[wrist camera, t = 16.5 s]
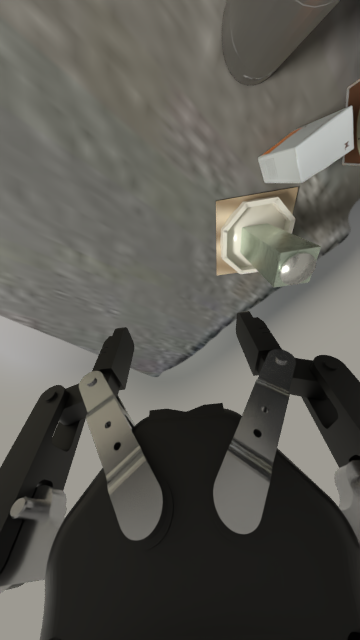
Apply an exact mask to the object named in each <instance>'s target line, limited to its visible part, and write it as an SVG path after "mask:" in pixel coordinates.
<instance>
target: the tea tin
mask: <svg viewBox="0 0 360 640" xmlns="http://www.w3.org/2000/svg"><path fill="white" fill-rule="evenodd" d="M320 248H321V246H319V245H316V244H314V243H312V242H309V241H307V240H305V239H302V238H300V237H298V236H295V235H293V234H291V233H289V232H286V231H284V230H282V229H279V228H277V227H275V226H272V225H270V224H268V223H266V224H260V225H254V226H248V227H243V228H242V233H241V249H240V253H241V254H242V255H243V256H244V257H245V258H246V259H247V260H248V261H249V262H250V263H251V264H252V265H253V266H254V268H255V269H256V270H257V271H258V272H259V273H260V274H261V275H262V276H263V277H264V278H265V279H266V280H267V281H268V282H269V283H270V284H271V285H272V286H273V287H280V286H286V285H296V284H300V283H307V282H309V281H310V277H311V275H312V273H313V271H314V269H315V266H316V260H317V257H318V254H319V251H320Z"/></svg>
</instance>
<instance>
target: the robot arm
mask: <svg viewBox="0 0 360 640" xmlns="http://www.w3.org/2000/svg"><path fill="white" fill-rule="evenodd" d="M339 1H340V0H227V1H226V5H225V10H224V15H223V23H222V46H223V54H224V58H225V61H226V65H227V67H228V69H229V71H230V73H231V74H232V76H233V77H234V78H235V79H236V80H237V81H238V82H240V83H241V84H244V85H256V84H259V83H261V82H263V81H264V80H266V79H267V78H268V77H269V76H270V75H271V74H272V73H273V72H275V71H276V70H277V68H278V67H279V66H280V65H281V64H282V63H283V62H284V60H286V59H287V57H288V56H289V55H290V54H291V53H292V52H293V51H294V50H295V49H296V48H297V47H298V46H299V44H300V43H301V42H302V41H303V40H304V39H305V38H306V37H307V36H308V35H309V34H310V33H311V32H312V30H313V29H314V28H315V27H316V26H317V25H318V24H319V23H320V22H321V21H322V20H323V19H324V17H325V16H326V15H327V14H328V13H329V12H330V11H331V10H332V9H333V8H334V7H335V6H336V5H337V3H338V2H339ZM236 334H237V337H238V340H239V342H240V345H241V347H242V349H243V352H244V354H245V357H246V359H247V361H248V364H249V366H250V369H251V371H252V373H253V375H254V376H255V375H259V377H258V380H257V381H256V382H255V385H254V387H253V390H252V392H251V395H250V398H249V400H248V402H247V405H246V407H245V410H244V412H243V415H242V416H241V415H240V414H238V413H236V412H234V411H231V410H229V409H224V408H223V404H222V403H218V404H209V405H203V406H200V407H198V408H195V409H193V410H190V411H187V412H183V411H177V410H171V409H160V410H151V411H150V415H149V417H147V418H145V419H143V420H142V421H140V422H139V423H138V424H136V425H135V424H134V422H133V421H132V419H131V418H130V416H129V414H128V413H127V411H126V409H125V407H124V405H123V403H122V402H121V400H120V398H119V396H118V392H119V390H124V389H125V387H126V383H127V379H128V374H129V370H130V365H131V361H132V357H133V352H134V343H133V340H132V338H131V335H130V333H129V331H128V329H127V328H126V327H125V328H117V329H115V331H114V333H113V336H109V338H108V339H107V340H106V341H105V342H104V344H103V347H102V349H101V351H100V354H99V356H98V359H97V361H96V363H95V366H94V368H93V370H92V372H90V373H88V374H87V375H85V376H84V377H83V378H82V380H81V381H80V383H79V384H77V385H74V386H71V387H69V388H67V389H65V388H64V387H62V386H61V385H56V386H53V387H51V388H49V389H48V390H46V391H45V392H44V393H43V394H42V395H41V396H40V398H39V400H38V402H37V403H36V405H35V407H34V408H33V410H32V412H31V414H30V416H29V417H28V419H27V421H26V423H25V425H24V426H23V428H22V430H21V432H20V433H19V435H18V437H17V439H16V441H15V442H14V445H13V446H12V448H11V450H10V451H9V453H8V455H7V457H6V459H5V460H4V462H3V464H2V466H1V468H0V593H1V592H3V591H5V590H8V589H12V588H15V587H19V586H21V585H23V584H24V583H26V582H32V581H39V580H45V604H44V605H45V606H44V616H43V624H42V630H41V637H40V640H360V382H359V381H358V380H357V378H356V377H355V376H354V375H353V374H352V373H351V371H350V370H349V369H348V368H347V367H346V366H345V364H344V363H342V362H341V361H340V360H338V359H336V358H334V357H332V356H327V355H319V356H317V357H315V358H314V360H313V361H312V360H305V359H298V358H294V356H293V355H292V354H290V353H289V352H287V351H284V350H282V349H281V348H280V346H279V344H278V343H277V341H276V339H275V338H274V337H273V335H272V333H270V330H269V329H268V328H267V326H266V324H265V323H264V322H263V321H262V320H260V319H259V318H258V317H257V318H253V317H252V315H251V313H250V312H249V311H247V312H239V313H237V322H236ZM290 394H292V395H297V396H301V397H302V398H303V401H304V402H305V404H306V406H307V408H308V410H309V412H310V414H311V416H312V417H313V419H314V421H315V423H316V425H317V427H318V429H319V430H320V432H321V434H322V436H323V438H324V440H325V442H326V443H327V445H328V447H329V449H330V451H331V453H332V455H333V457H334V459H335V460H336V462H337V464H338V466H339V469H338V470H337V471H336V472H335V483H336V486H337V489H338V492H339V495H340V504H339V507H338V506H337V505H336V504H335V502H334V501H333V500H332V499H331V498H330V497H329V496H328V495H327V494H326V493H325V492H323V491H322V490H321V489H320V488H319V487H318V486H317V485H316V484H315V483H314V482H313V481H312V480H311V479H310V478H308V476H306V475H305V474H304V473H303V472H302V471H301V470H300V469H299V468H298V467H297V466H296V465H295V464H293V462H292V461H290V460H289V459H288V458H287V457H286V456H285V455H284V454H283V453H282V452H281V451H280V450H278V448H277V446H278V441H279V437H280V433H281V429H282V425H283V421H284V416H285V412H286V408H287V404H288V400H289V395H290ZM85 419H86V420H87V423H88V426H89V429H90V431H91V434H92V437H93V440H94V443H95V446H96V449H97V452H98V455H99V458H100V460H101V463H102V466H103V468H102V470H101V471H100V472H99V473H98V475H97V476H96V478H95V479H94V480H93V481H92V483H91V484H90V485H89V487H88V488H87V489H86V491H85V492H84V493H83V495H82V496H81V497H80V499H79V500H78V501H77V503H76V504H75V505H74V507H73V508H72V509H71V511H70V512H69V513H68V515H67V516H66V518H64V516H65V514H66V495H65V493H64V492H63V489H64V486H65V483H66V480H67V476H68V473H69V470H70V467H71V464H72V460H73V457H74V454H75V451H76V448H77V444H78V441H79V438H80V435H81V432H82V428H83V425H84V422H85ZM58 422H59V423H58ZM57 424H58V425H57ZM56 426H57V428H56ZM55 429H56V430H55ZM54 431H55V433H54ZM53 434H54V435H53ZM52 436H53V437H52Z"/></svg>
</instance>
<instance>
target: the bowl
mask: <svg viewBox="0 0 360 640" xmlns="http://www.w3.org/2000/svg"><path fill="white" fill-rule="evenodd" d="M266 223H268V224H270V225H272V226H275V227H277V228H279V229H282V230H284V231H286V232H289V233H291V234H292V232H293V227H294V223H295V218H294V216H293V215H292V214H291V212H290V211H289V210H288V209H287V207H286V206H285V205H284V204H283V202H282V201H281V200H280V198H279V197H275V196H273V197H267V198H258V199H253V200H249V201H244V202H242V203H241V204H240V206H239V207H238V208H237V209H236V210H235V211H233V213H232V214H231V215H230V216H229V218H228V219H227V221H226V222H225V224H224V226H223V227H222V228H221V237H220V247H221V258H222V259H223V260H224V261H225V262H226V263H227V264H229V265H230V266H231V267H232V268H233V269H235V270H236V271H237V272H238V273H239V274H245V273H252V272H258V271H257V270H256V269H255V268H254V266H253V265H252V264H251V263H250V262H249V261H248V260H247V259H246V258H245V257H244V256H243V255H242V254H241V253H240V249H241V233H242V228H243V227H248V226H254V225H260V224H266Z"/></svg>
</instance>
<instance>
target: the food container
mask: <svg viewBox="0 0 360 640" xmlns="http://www.w3.org/2000/svg"><path fill="white" fill-rule="evenodd" d="M351 105H352V107H353V135H354V149H353V150H351V151H350V152H348V153H347V154H345V155H344V156H343V160H342V165H353V166H360V79H359V80H357V81H356V82H354V83H353V84H352V85H350V86H349V87H348V88H347V96H346V107H349V106H351Z"/></svg>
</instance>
